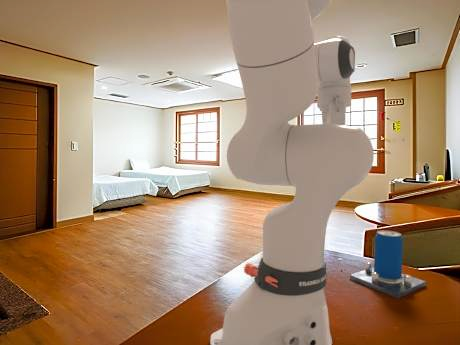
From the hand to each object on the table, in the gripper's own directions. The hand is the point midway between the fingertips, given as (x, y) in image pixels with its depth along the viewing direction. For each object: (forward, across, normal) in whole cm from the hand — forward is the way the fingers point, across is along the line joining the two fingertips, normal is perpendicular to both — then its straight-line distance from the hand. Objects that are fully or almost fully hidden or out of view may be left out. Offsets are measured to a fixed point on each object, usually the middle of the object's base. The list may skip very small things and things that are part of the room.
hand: (332, 150), depth 83 cm
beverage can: (+34, -3, -14) cm, 37 cm away
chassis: (+35, -3, -14) cm, 38 cm away
